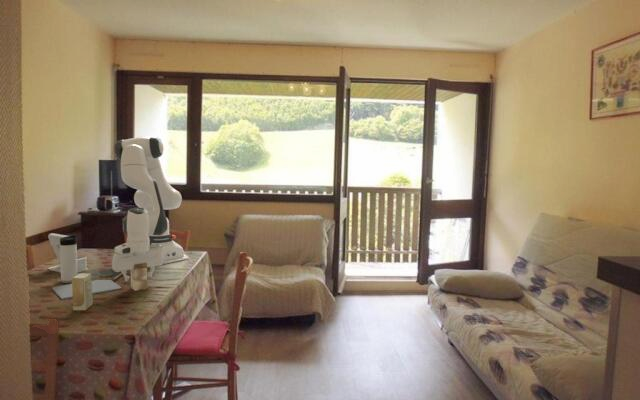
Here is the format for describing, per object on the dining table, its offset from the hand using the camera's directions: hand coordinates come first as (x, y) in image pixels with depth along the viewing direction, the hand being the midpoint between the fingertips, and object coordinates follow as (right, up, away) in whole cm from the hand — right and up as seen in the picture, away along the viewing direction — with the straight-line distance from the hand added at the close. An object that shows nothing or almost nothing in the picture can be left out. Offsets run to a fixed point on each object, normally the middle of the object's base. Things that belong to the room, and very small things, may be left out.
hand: (138, 278), depth 177 cm
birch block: (0, -4, 0) cm, 4 cm away
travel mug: (-34, -3, +7) cm, 35 cm away
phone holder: (-45, -1, +25) cm, 52 cm away
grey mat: (-21, -4, -2) cm, 21 cm away
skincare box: (-10, -6, -24) cm, 27 cm away
